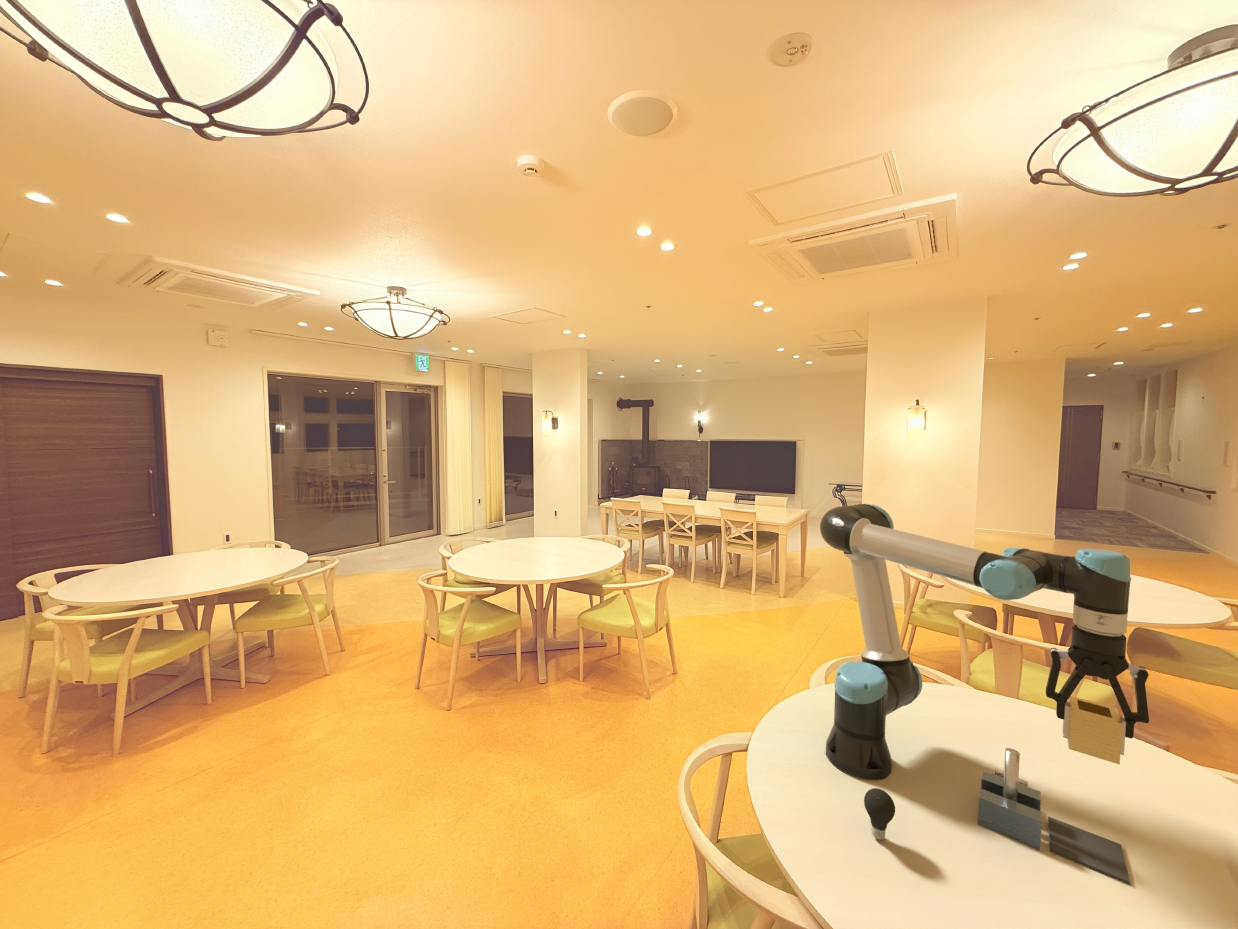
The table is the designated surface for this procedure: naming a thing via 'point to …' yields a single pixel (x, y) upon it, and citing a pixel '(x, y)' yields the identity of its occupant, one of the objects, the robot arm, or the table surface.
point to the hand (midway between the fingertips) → (1092, 742)
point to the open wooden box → (1095, 729)
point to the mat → (1087, 849)
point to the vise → (1010, 804)
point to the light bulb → (879, 811)
